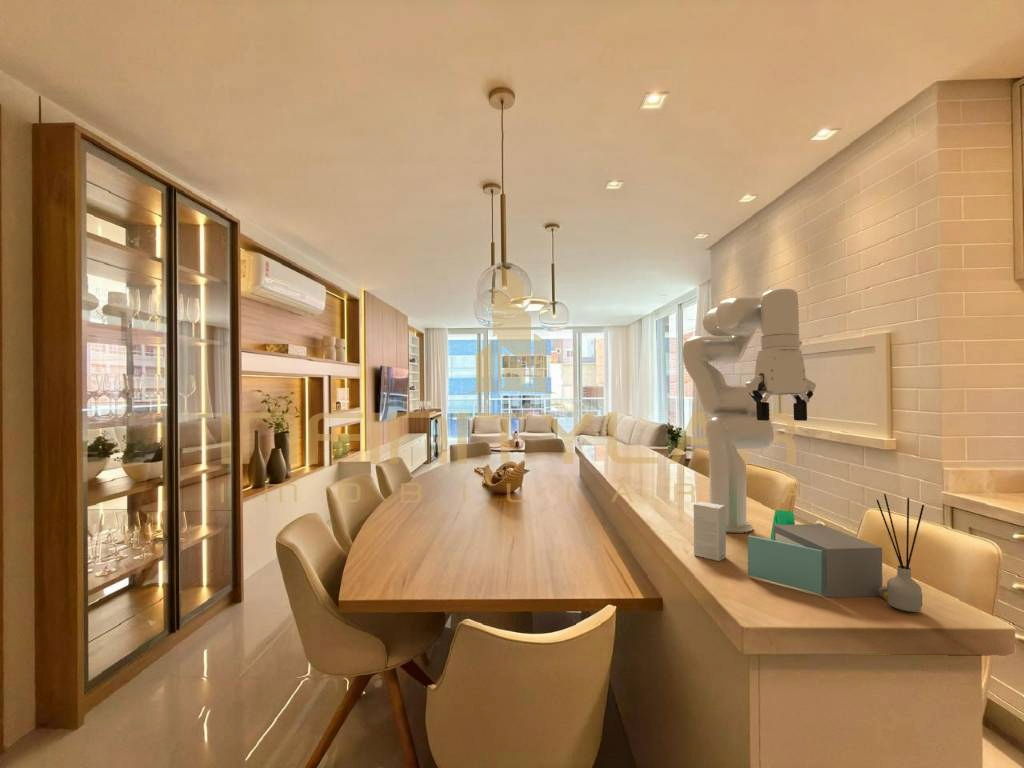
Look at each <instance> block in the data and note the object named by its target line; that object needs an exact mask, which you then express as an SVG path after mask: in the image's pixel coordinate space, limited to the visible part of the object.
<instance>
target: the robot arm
mask: <svg viewBox="0 0 1024 768" xmlns="http://www.w3.org/2000/svg"><path fill="white" fill-rule="evenodd" d="M799 311H800V310H799V294H798V292H797V290H795V289H790V288H777V289H772V290H768V291H766V292H764V293H763V294H762V295H761V297H753V296H752V297H751V296H750V297H748V296H747V297H732V298H731V297H730V298H728V299H724V300H721V301H720V302H719V304H718V305H717V307H715V308H713V309H712V308H711V309H710V310H709V311H708V312H707V313H706V314H705V315H704V316H703V319H702V327H703V330H704V331H705V332H707V334H709V335H698V336H697V335H696V336H693V337H690V338H688V339H687V340H685V341H684V343H683V346H682V360H683V364H684V367H685V370H686V372H687V374H688V375H689V376H690V378H691V380H692V382H694V384H695V387H696V391H697V393H698V396H699V399H700V402H701V405H702V409H703V411H704V413H705V414H706V416H708V417H711V418H710V419H708V421H707V422H706V425H705V436H706V441H707V447H708V456H709V457H708V460H709V465H708V466H709V469H708V470H709V503H712V504H718V505H725V519H726V533H732V534H733V533H736V534H742V533H743V534H744V532H745V533H750V532H752V531H753V527H754V526H753V524H752V523H750V522H749V521H747V465H746V462H745V460H744V458H743V457H742V456H741V454H740V453H739V452H738V450H760V449H761V450H762V449H766V448H768V447H770V446H771V445H772V444H773V442H774V437H775V434H774V433H775V432H774V428H773V424H772V422H771V421H772V420H771V419H770V403H769V402H768V400H769V398H770V397H771V395H776V396H778V395H779V396H780V395H781V396H782V395H783V396H787V395H790V396H791V397H792V399H793V400H794V401H795V402H793V420H794V421H796V422H797V421H801V422H802V421H806V422H807V420H808V409H807V408H808V403H809V402H810V401H811V400H810V399H811V398H812V397H813V395H814V391H815V390H816V383H814V382H813V381H812V380H810V379H808V377H807V378H806V368H805V367H806V366H805V361H804V357H803V353H802V350H801V348H800V347H801V346H802V343H803V342H802V341H801V340H800V318H799V313H800V312H799ZM756 329H758V330H759V329H760V333H761V334H760V339H761V341H760V342H761V350H758V353H757V356H756V362H755V368H754V369H755V370H754V378H752V379H750V380H749V381H747V382H745V386H731V385H728V383H727V382H726V379H725V377H724V375H723V373H722V372H721V371H720V370H719V369H718V368H716V367H715V366H713V365H712V364H711V363H736V362H738V361H740V360H741V359H742V357H743V356H744V354H745V352H746V350H747V348H748V346H749V344H750V343H751V340H752V339H753V337H754V335H755V332H756ZM749 531H750V532H749Z"/></svg>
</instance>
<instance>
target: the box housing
mask: <svg viewBox="0 0 1024 768" xmlns="http://www.w3.org/2000/svg"><path fill="white" fill-rule="evenodd" d="M772 525H773V524H772ZM773 534H774V541H779V542H784V543H789V544H794V545H799V546H804V547H808V548H813V549H818V550H822V594H821V595H822V596H824V597H825V598H850V597H851V598H853V597H855V598H857V597H858V598H859V597H882V596H881V595H880V593H879V588H880V587H883V547H881V546H878V545H876V544H874V543H871V542H869V541H866V540H863V539H860V538H858V537H855V536H853V535H850V534H847V533H845V532H842V531H839V530H837V529H834V528H831V527H830V526H828V525H827V526H826V525H824V524H821V523H817V524H813V523H811V524H810V523H808V524H807V523H806V524H795V525H773Z"/></svg>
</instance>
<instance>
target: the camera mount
mask: <svg viewBox="0 0 1024 768" xmlns="http://www.w3.org/2000/svg"><path fill="white" fill-rule="evenodd" d="M795 522H796V521H795V515H794V512H793V511H792V510H781V509H776V510H774V515H773V522H772V525H771V533H770V540H774V534H773V525H796V523H795Z"/></svg>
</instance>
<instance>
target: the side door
mask: <svg viewBox="0 0 1024 768" xmlns="http://www.w3.org/2000/svg"><path fill="white" fill-rule="evenodd" d="M747 576H750V577H754V578H758V579H761V580H765V581H769V582H772V583H777V584H780V585H784V586H787V587H793V588H796V589H799V590H802V591H806V592H810V593H815V594H818V595H822V550H818V549H813V548H808V547H804V546H799V545H794V544H789V543H784V542H779V541H774V540H771V538H770V539H769V538H763V537H759V536H755V535H750V534H749V535H748V536H747Z"/></svg>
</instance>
